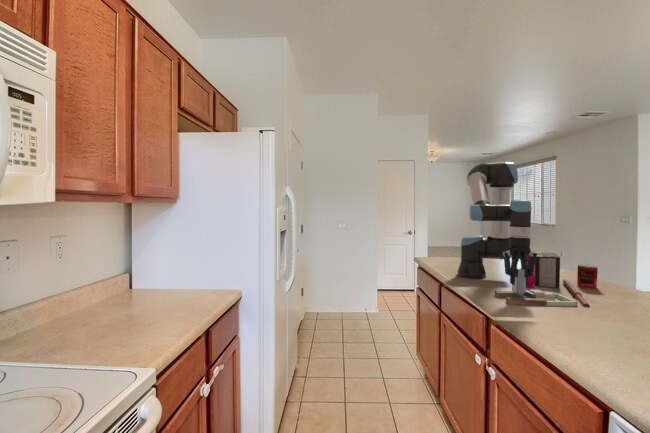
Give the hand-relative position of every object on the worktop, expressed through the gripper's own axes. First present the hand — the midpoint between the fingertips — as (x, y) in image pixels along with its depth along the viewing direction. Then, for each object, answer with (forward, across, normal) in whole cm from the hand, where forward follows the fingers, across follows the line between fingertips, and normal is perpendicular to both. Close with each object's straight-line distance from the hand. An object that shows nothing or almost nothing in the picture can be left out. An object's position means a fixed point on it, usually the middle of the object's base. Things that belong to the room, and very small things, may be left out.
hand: (518, 291), depth 134 cm
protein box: (+5, +31, +33) cm, 46 cm away
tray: (+5, +13, 0) cm, 14 cm away
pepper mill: (+5, +16, +23) cm, 29 cm away
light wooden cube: (+4, +11, 0) cm, 12 cm away
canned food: (+5, +48, +28) cm, 56 cm away
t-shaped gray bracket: (+3, +2, 0) cm, 4 cm away
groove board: (+5, 0, 0) cm, 5 cm away
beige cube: (+4, +7, 0) cm, 8 cm away
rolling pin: (+5, +32, +13) cm, 35 cm away
